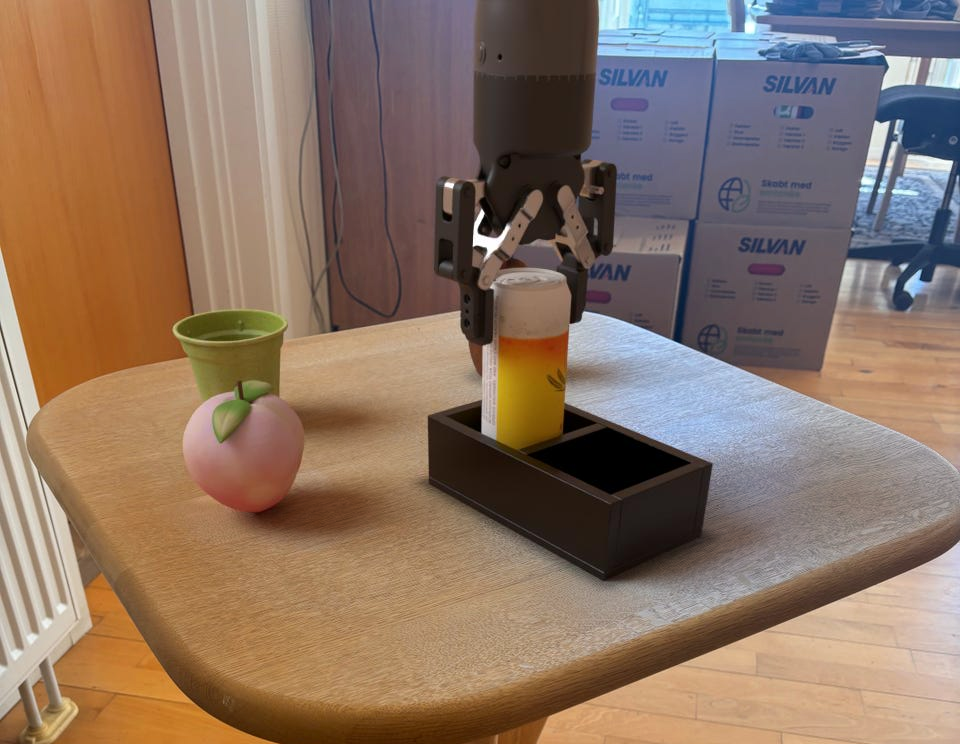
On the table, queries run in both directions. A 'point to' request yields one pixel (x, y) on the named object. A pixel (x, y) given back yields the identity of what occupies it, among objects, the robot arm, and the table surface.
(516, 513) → the divided box
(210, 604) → the table surface
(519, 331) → the beer can
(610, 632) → the table surface
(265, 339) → the plant pot
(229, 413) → the decorative fruit
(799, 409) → the table surface
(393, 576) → the table surface
